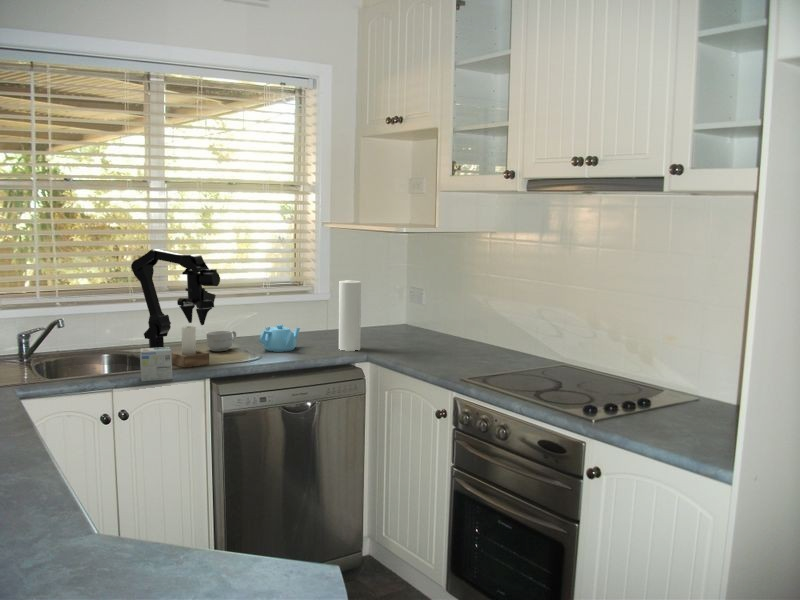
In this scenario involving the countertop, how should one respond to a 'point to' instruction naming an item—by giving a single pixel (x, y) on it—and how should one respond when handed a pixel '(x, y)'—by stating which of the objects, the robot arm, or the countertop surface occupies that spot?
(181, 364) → the cradle
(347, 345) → the cylinder container
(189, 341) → the paper roll
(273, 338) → the teapot
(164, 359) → the light bulb box
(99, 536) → the countertop surface
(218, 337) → the teacup
